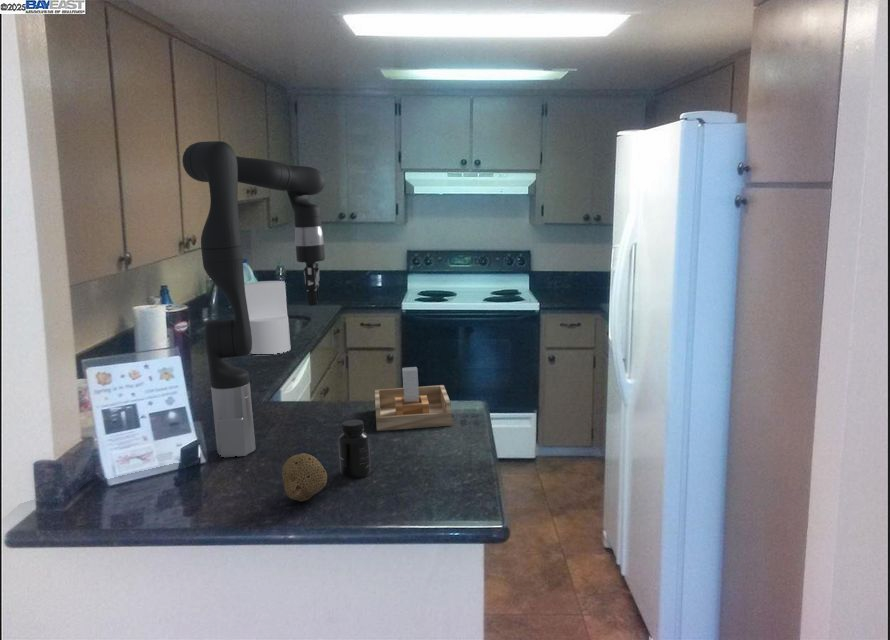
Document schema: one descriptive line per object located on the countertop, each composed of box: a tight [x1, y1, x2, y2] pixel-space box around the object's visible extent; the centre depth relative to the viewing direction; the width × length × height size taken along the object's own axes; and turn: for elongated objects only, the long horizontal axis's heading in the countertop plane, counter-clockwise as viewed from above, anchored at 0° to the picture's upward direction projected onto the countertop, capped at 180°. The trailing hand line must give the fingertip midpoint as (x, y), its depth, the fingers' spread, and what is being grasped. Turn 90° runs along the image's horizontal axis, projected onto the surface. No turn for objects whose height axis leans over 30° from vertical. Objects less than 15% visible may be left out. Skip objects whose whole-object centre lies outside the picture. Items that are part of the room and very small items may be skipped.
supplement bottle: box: [337, 419, 372, 480], centre depth 168 cm, size 7×7×12 cm
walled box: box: [374, 384, 453, 432], centre depth 209 cm, size 20×20×6 cm
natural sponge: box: [281, 452, 328, 502], centre depth 155 cm, size 9×9×10 cm
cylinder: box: [244, 280, 292, 355], centre depth 309 cm, size 17×17×28 cm
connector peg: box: [402, 366, 420, 404], centre depth 209 cm, size 4×4×12 cm
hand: (314, 303), depth 206 cm, fingers open, 8 cm apart
